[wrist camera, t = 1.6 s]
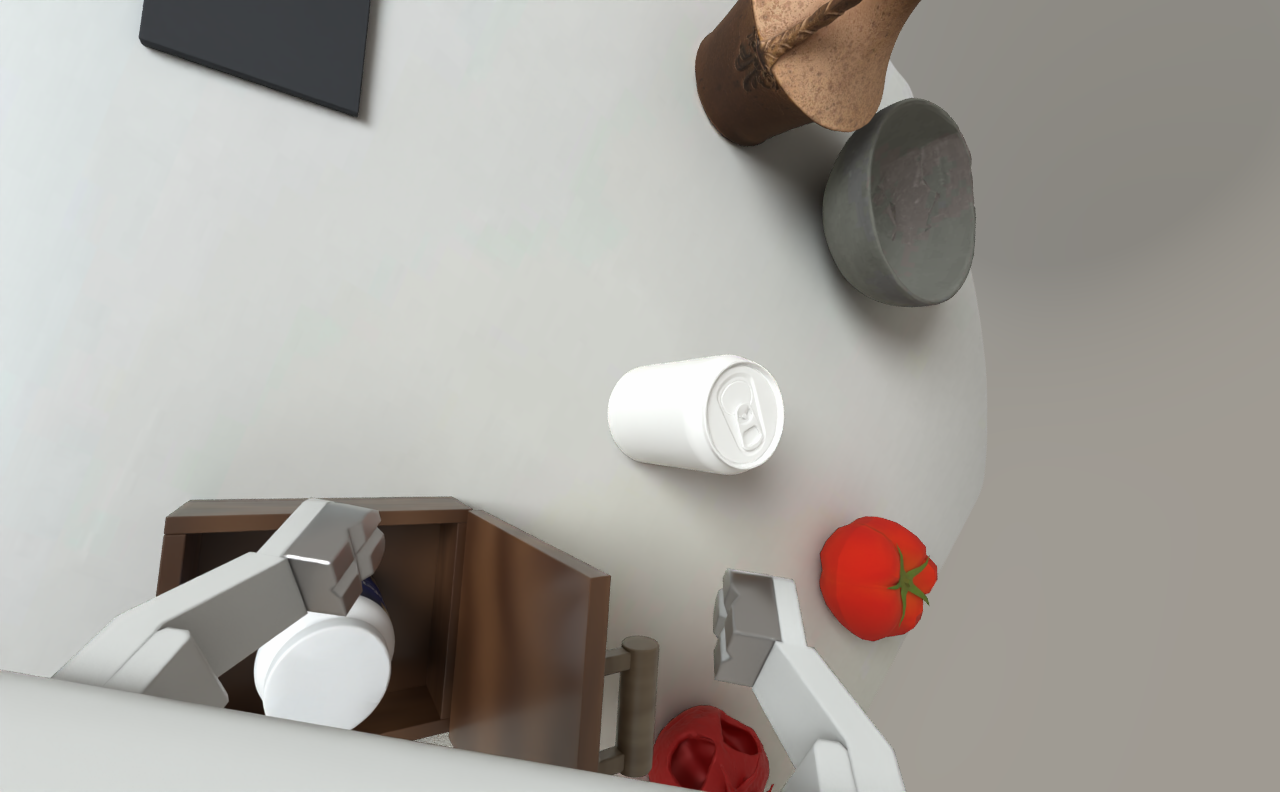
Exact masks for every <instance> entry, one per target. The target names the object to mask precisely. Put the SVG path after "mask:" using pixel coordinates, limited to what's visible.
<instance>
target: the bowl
mask: <svg viewBox="0 0 1280 792" xmlns="http://www.w3.org/2000/svg"><path fill="white" fill-rule="evenodd" d="M975 216H976V214H975V207H974V197H973V180H972V172H971V154H970V151H969V149H968V147H967V144H966V142H965V139H964V137H963V135H962V133H961V132H960V130H959V127H958V126H957V124H956V123H955V122H954V120H953V119H952V118H951V117H950V116H949V115H948V113H947V112H945V111H944V110H943V109H942V108H940V107H939V106H937V105H936V104H934V103H931V102H929V101H927V100H924V99H918V98H909V99H904V100H902V101H899V102H896V103H894V104H892V105H890V106H888V107H886V108H884V109H882V110H880V111H879V112H877V113H876V114H875V115H874V116H873V118H872V119H871V120H870V122H869V123H868V124H866V125H865V126H863V127H862V128H860V129H858V130H856V131H855V132H854V133H853V134H852V136H851V137H850V138H849V139H848V141H847V142H846V144H845V145H844V147H843V148H842V150H841V152H840V154H839V155H838V157H837V159H836V161H835V163H834V166H833V168H832V171H831V173H830V176H829V178H828V182H827V185H826V189H825V193H824V199H823V216H822V217H823V227H824V233H825V237H826V241H827V244H828V247H829V250H830V252H831V255H832V257H833V259H834V261H835V263H836V265H837V267H838V268H839V270H840V272H841V273H842V275H843V276H844V277H845V279H846V280H847V281H848V282H849V283H850V284H851V285H852V286H853V287H854V288H856V289H857V290H858V291H860V292H861V293H863V294H864V295H866V296H868V297H869V298H872V299H874V300H876V301H878V302H882V303H885V304H889V305H895V306H902V307H922V306H930V305H936V304H940V303H942V302H945V301H947V300H949V299H950V298H951V297H953V296H954V295H955V294H956V293H957V292H958V290H959V289H960V288H961V287H962V285H963V283H964V282H965V280H966V278H967V275H968V273H969V270H970V267H971V264H972V259H973V256H974V246H975V223H976V222H975V221H976V217H975Z"/></svg>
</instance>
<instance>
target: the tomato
mask: <svg viewBox="0 0 1280 792" xmlns="http://www.w3.org/2000/svg"><path fill="white" fill-rule="evenodd" d="M820 557H821V563H822V569H823V570H822V574H821V577H820V589H821V591H822V594H823V597H824V600H825V603H826V605H827V606H828V607H829V609H830V610H831V612H832V613H833V615H834V616H835V617H836V618H837V619H838V621H839V622H840V623H841V624H842V625H843V626H844V627H845V628H847V629H848V630H849V631H850V632H851V633H853V634H854V635H856V636H858V637H859V638H861V639H863V640H869V641H876V640H879V639H882V638H884V637H890V636H897V635H902V634H905V633H907V632H908V631H910V630H911V629H913V628H914V627H915V626H916V624H917V623H918V621H919V620H920V619H921V616H922V612H923V600H924V601H926V603H927V604H928V605H929V602H928V598H927V597H926V596H925V594H927V593H930V591H931V589H932V587H933V586H934V584H935V582H936V581H937V566H936V565H935V563H934V562H933V561H932V560H931V559H930V558H929V557H930V556H929V557H928V556H927V555H926V547H925V545H924V544H923V543H922V542H921V541H920V539H919V538H918V537H917V536H916V535H914V534H913V533H912V532H910V531H909V530H907V529H906V528H904V527H903V526H901V525H900V524H898V523H896V522H893V521H890V520H887V519H884V518H879V517H867V516H866V517H862V518H859V519H856V520H855V521H854V522H852V523H851V524H849V525H846V526H843V527H841V528H838V529H837V530H836V531H835V532H834V533H833V534H832V535H831V536H830V537H829V539H828V540H827V541H826V542H825V544H824V546H823V549H822V551H821V553H820Z"/></svg>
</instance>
